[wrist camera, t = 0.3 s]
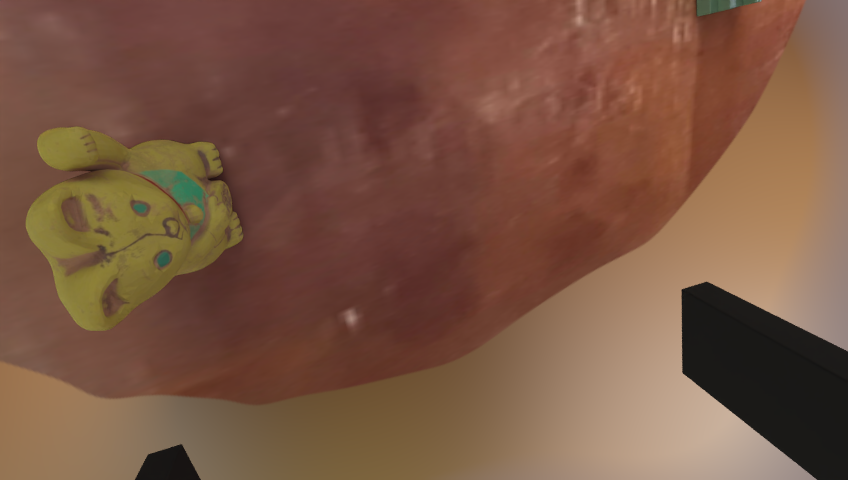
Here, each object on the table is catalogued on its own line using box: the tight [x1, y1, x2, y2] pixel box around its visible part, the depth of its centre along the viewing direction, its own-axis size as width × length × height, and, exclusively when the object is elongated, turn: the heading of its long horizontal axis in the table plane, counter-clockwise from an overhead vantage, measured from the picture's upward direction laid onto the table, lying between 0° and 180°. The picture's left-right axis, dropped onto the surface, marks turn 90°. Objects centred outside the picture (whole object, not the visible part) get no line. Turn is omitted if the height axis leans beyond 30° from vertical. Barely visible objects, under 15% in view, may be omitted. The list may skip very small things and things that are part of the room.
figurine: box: [26, 126, 243, 331], centre depth 27 cm, size 11×9×15 cm
